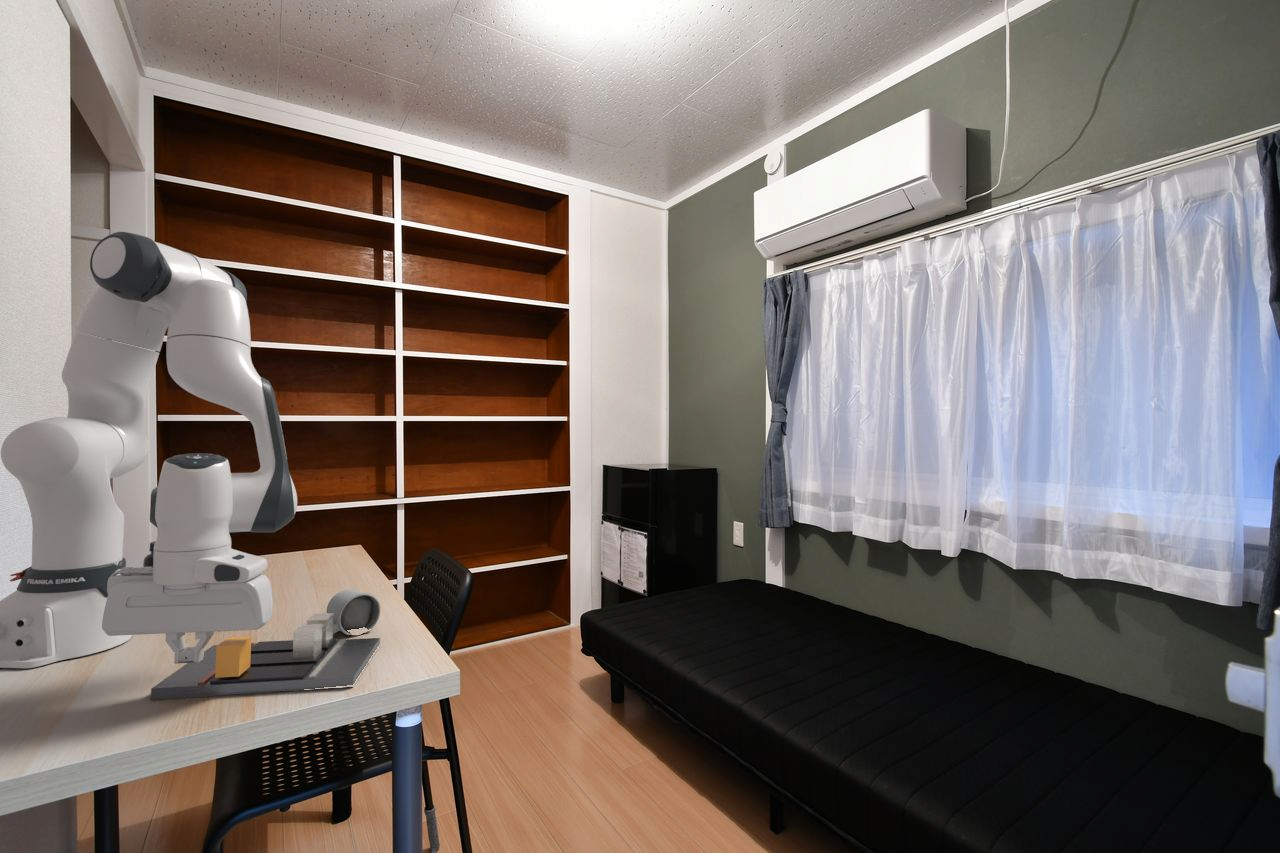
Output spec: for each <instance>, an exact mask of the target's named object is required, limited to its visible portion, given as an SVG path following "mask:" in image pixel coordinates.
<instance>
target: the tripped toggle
mask: <svg viewBox="0 0 1280 853" xmlns="http://www.w3.org/2000/svg"><path fill="white" fill-rule="evenodd" d="M251 643H252V636H232V637H227V638H226V639H224V640H223V641H222V642H221V643H219V644H216V645H217V646H216V669H215V678H219V677H238V676H240V675H241V674H242V673H243V672H244V671H246V670H247V669H248V668H249V667H250V660H251Z"/></svg>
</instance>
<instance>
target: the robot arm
mask: <svg viewBox="0 0 1280 853" xmlns="http://www.w3.org/2000/svg"><path fill="white" fill-rule="evenodd" d="M89 269H90V272H91V274H92V277H93V280H94V281H95V282H96V284H97V285H98V287H97V288H96V289H95V291H94V293H93V295H92V296H91V297H90V300H89V301H88V303H87V304H86V307H85V308H84V311H83V312H82V314H81V316H80V319H79V321H78V324H77V326H76V330H75V333H74V336H73V338H72V342H71V344H70V346H69V347H70V348H69V350H68V352H67V356H66V359H65V362H64V365H63V368H62V371H61V379H62V382H63V384H64V385H65V386H66V390H67V397H68V398H67V399H68V409H67V410H68V412H67V417H50V418H49V417H48V418H45V419H41V420H40V419H39V420H35V421H33V422H30V423H27V424H24V425H21V426H19V427H17V428H16V429H14V430H12V431H11V432H10V433H9V434H8V435H7V436H6V437H5V439H4V440H3V442H2V445H1V448H0V459H1V461H2V465H3V466H4V468H5V469H6V470H7V471H8V472H9V473H10V474H11V475H12V476H14V477H15V478H16V479H17V480H18V482H19V483H20V486H21V488H22V491H23V493H24V496H25V498H26V501H27V505H28V507H29V511H30V516H31V523H32V524H31V525H32V534H31V536H32V538H31V539H32V540H31V542H32V544H31V566H29V567H26V568H25V569H23V570H22V571H19V572H16V573H12V574H10V575H9V576H10V577H13V578H11V579H9V582H15V581H18V580H20V581H19V584H18V585H17V587H16V590H15V591H13V592H12V593H11V594H9V595H7V596H5V597H4V598H3V599H1V600H0V668H1V669H32V668H37V667H41V666H45V665H49V664H52V663H55V662H56V663H57V662H59V661H64V660H68V659H70V660H71V659H74V658H79V657H85V656H89V655H92V654H96V653H99V652H103V651H106V650H109V649H112V648H114V647H118V646H121V645H122V644H123V643H126V642H127V641H129V640H130V639H131V638H132V637H133V636H134V635H135V636H138V635H139V636H140V635H163V634H165V642H166V643H167V645H168V646H169V647H170V650H171V651H172V652H173V653H174V656H173V657H174V658H173V660H174V661H173V662H174V664H187V663H197V662H200V661H201V660H202V659H203V658H204V651H205V647H206V646H207V645H208V644H209V642H210V641H211V639H212V637H213V636H214V634H215V632H234V631H255V630H259V629H260V628H263V627H264V626H265V625H266V624H267V623H268V622H270V620H271V619H272V618H273V615H274V614H273V611H274V609H273V608H274V605H273V603H274V601H273V590H272V583H271V581H270V579H269V578H268V576H267V575H265V574H263V573H264V572H266V571H267V569H268V559H266V558H265V557H262V556H258V555H255V554H252V553H251V554H250V553H247V552H244V551H240V550H237V549H234V548H232V537H231V535H230V534H231V533H241V532H244V533H245V532H250V533H273V534H274V533H275V532H277V531H279V530H281V529H282V528H284V527H285V526H287V525H288V524H289V523H290V522H291V521H292V520H294V518H295V515H296V512H297V509H298V493H297V490H296V487H295V484H294V481H293V479H292V475H291V474H290V470H289V463H288V457H287V451H286V446H285V439H284V434H283V429H282V423H281V417H280V413H279V409H278V402H277V399H276V398H277V397H276V396H275V395H276V394H275V391H274V388H273V386H272V384H271V382H270V381H269V380H268V379H266V378H265V377H262V376H260V375H259V373H258V371H257V369H256V368H255V367H254V366H255V365H254V364H253V361H252V356H251V351H252V350H251V344H252V337H251V336H252V335H251V323H250V316H249V309H248V305H247V300H248V293H247V289H246V287H245V285H244V283H243V282H242V281H241V280H240V279H239V278H238V277H236V276H235V275H234V274H232V273H231V272H230V271H228V270H226V269H225V268H221V267H217V266H216V265H215V264H212V263H210V262H209V261H208V260H205V259H203V258H201V257H199V256H197V255H195V254H192V253H190V252H187V251H183V250H180V249H178V248H175V247H172V246H169V245H166V244H164V243H161V242H157V241H154V240H153V239H152V238H150V237H148V236H145V235H141V234H136V233H132V232H126V231H117V232H113V233H111V234H108V235H107V236H105V237H103V238H101V239H100V240H99V242H98V243H97V244H96V245H95V246H94V248H93V250H92V252H91V256H90V259H89ZM166 332H167V335H166ZM165 335H166V348H165V350H166V352H165V353H166V355H165V356H166V366H167V372H168V374H169V375H170V377H171V379H172V380H173V381H174V382H175V383H176V384H177V385H178V386H179V387H180V388H182V389H183V390H185V391H186V392H187V393H189V394H192V395H193V396H195V397H197V398H199V399H202V400H204V401H207V402H209V403H213V404H216V405H219V406H222V407H225V408H228V409H230V410H233V411H234V412H237V413H238V414H241V415H242V416H244V417H245V418H246V419H247V420H248V421H249V422H250V423H251V425H252V427H253V432H254V437H255V443H256V447H257V448H256V449H257V453H258V460H259V465H260V467H259V469H258V470H256V471H253V472H231V467H230V466H231V465H230V461H229V459H228V458H227V457H225V456H222V455H220V454H214V453H206V452H205V453H204V452H203V453H202V452H200V453H199V452H195V453H194V452H192V453H184V454H177V455H173V456H171V457H168V458H166V459H165V460H164V461H163V464H162V467H161V472H160V474H159V480H158V484H157V486H155V487H154V488H153V489H152V490H151V492H150V506H149V522H150V523H151V524H152V525H153V526H154V527H155V528H157V537H156V540H155V541H156V542H155V544H154V555H153V567H143V566H139V567H132V566H127V562H126V561H127V560H126V558H125V557H124V538H125V520H126V518H125V514H124V512H123V511H122V510H121V509H120V507H119V506H118V505H117V502H116V500H115V496H114V494H113V490H112V487H111V479H114V478H118V477H121V476H123V475H126V474H127V473H130V472H132V471H133V470H135V469H137V468H138V467H140V466H141V465H142V464H143V463H145V460H147V457H148V456H149V452H150V441H149V439H148V436H147V435H146V413H147V412H146V410H147V399H148V393H149V388H150V385H151V382H152V379H153V375H154V372H155V369H156V365H157V362H158V359H159V355H160V352H161V350H162V346H163V342H164V339H165ZM14 576H15V577H14ZM186 633H187V634H188V633H195V634H194V635H195V639H194V640H198V641H197V643H196V645H195V646H187V644H186V643H185V641H184V639H183V637H184V636H185V635H186Z"/></svg>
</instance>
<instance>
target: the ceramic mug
mask: <svg viewBox="0 0 1280 853" xmlns="http://www.w3.org/2000/svg"><path fill="white" fill-rule="evenodd" d="M326 613H334V616H333V635H334V634H337V632H341V633H343V634H345V635H347V636H349V635H352V634H351V633H350V632H348V631H347V630H351V629H359V628H363V627H365V628H367V629H368V630H369V629H371V630H372V629H373V628H374V627H375V626H376V625H377V624H378V621H379V619H380V616H381V605H380V602H379V599H378V598H377V596H375V595H373V594H370V593H368V592H364V591H361V590H357V589H345V590H342V591H339V592H337V593H336V594H335V595H333V596H332V597H331V599H330V600H329V602H328V604H327V606H326Z"/></svg>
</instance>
